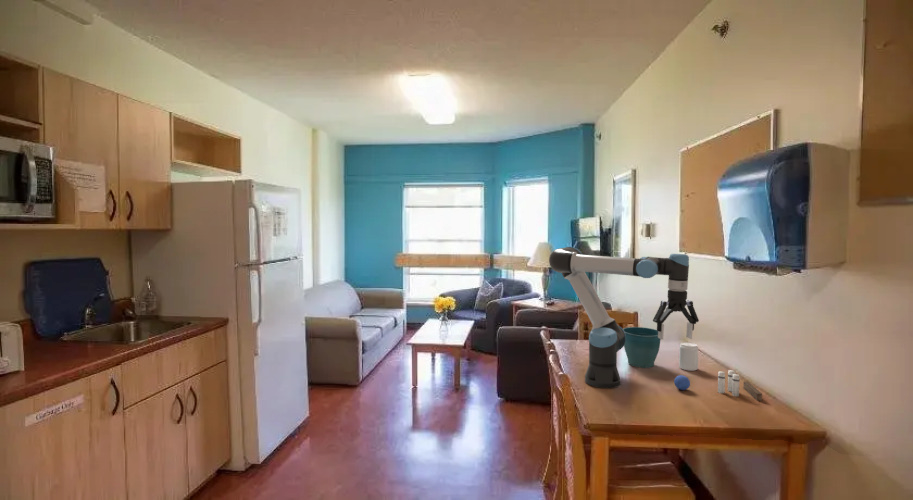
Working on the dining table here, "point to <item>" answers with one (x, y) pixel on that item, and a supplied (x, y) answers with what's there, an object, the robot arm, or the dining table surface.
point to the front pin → (721, 382)
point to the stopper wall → (752, 391)
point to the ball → (682, 382)
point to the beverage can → (688, 356)
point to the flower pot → (641, 346)
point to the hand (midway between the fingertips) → (674, 338)
